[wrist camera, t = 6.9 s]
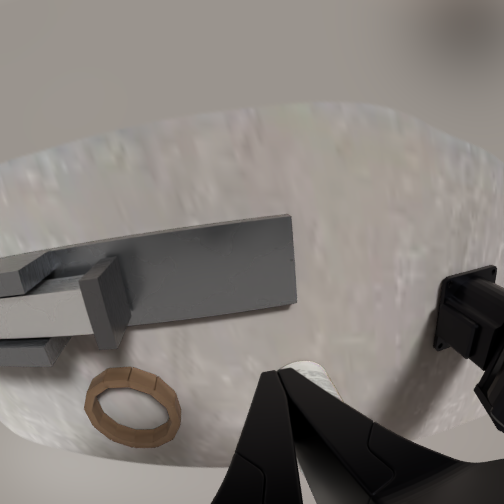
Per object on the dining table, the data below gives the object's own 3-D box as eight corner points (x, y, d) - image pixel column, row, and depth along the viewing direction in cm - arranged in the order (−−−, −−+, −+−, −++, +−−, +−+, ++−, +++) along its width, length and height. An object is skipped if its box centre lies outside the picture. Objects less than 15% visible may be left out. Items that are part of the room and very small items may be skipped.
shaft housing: (287, 212, 18) (314, 228, 14) (293, 299, 20) (318, 337, 15) (-43, 265, 16) (-82, 287, 11) (-22, 331, 17) (-53, 362, 13)
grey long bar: (117, 256, 16) (97, 278, 13) (131, 315, 17) (117, 348, 14) (-54, 283, 15) (-82, 301, 12) (-39, 328, 16) (-63, 350, 12)
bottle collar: (167, 363, 20) (165, 377, 18) (188, 431, 22) (188, 445, 20) (77, 369, 19) (70, 381, 18) (108, 434, 21) (105, 447, 20)
